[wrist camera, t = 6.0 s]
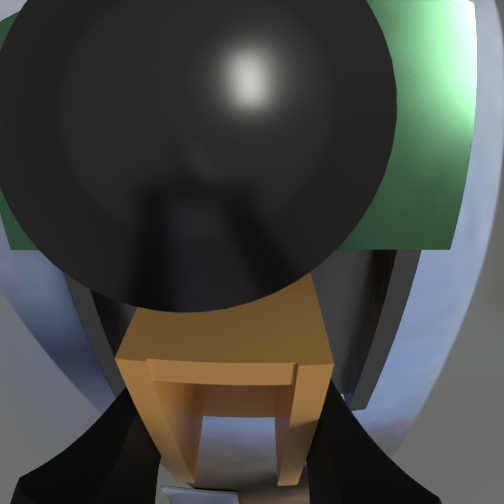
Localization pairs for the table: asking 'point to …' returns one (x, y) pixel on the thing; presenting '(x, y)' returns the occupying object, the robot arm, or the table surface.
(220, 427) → the table surface
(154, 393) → the tan arch block
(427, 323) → the table surface
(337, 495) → the robot arm
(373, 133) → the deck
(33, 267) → the table surface
